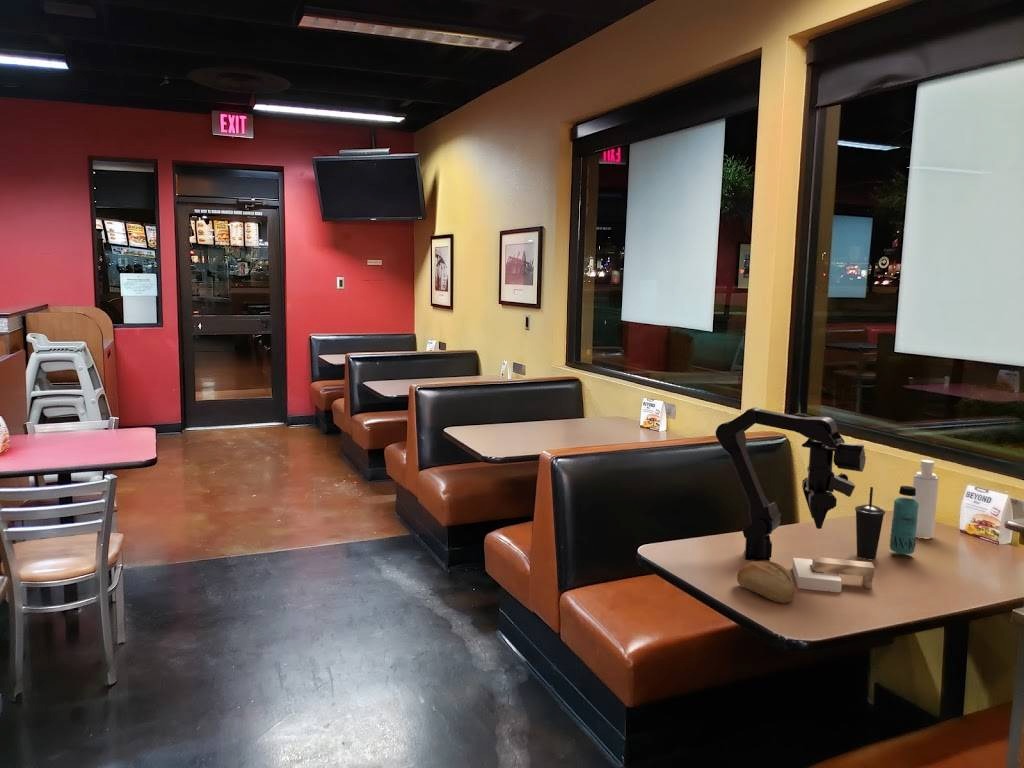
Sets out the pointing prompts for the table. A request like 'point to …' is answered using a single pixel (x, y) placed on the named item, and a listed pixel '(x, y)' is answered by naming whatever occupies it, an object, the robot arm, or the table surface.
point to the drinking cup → (868, 528)
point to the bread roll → (767, 580)
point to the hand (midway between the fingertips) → (816, 523)
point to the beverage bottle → (904, 522)
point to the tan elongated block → (845, 568)
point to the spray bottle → (926, 498)
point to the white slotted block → (814, 577)
